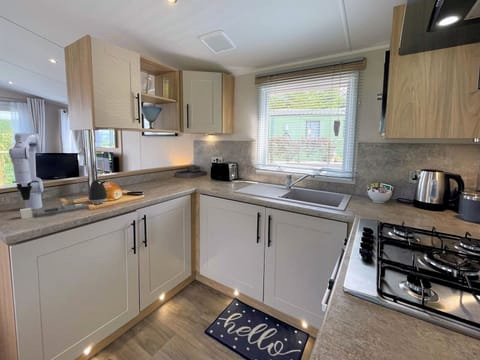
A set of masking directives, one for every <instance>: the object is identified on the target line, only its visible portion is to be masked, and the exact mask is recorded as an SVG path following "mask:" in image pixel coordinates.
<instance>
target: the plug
mask: <svg viewBox="0 0 480 360" xmlns="http://www.w3.org/2000/svg"><path fill="white" fill-rule="evenodd" d="M19 210H20V216H21V219H28V218H33V211H32V210H33V209H32V210H31V208H25V207H24V208H20V209H19Z"/></svg>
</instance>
